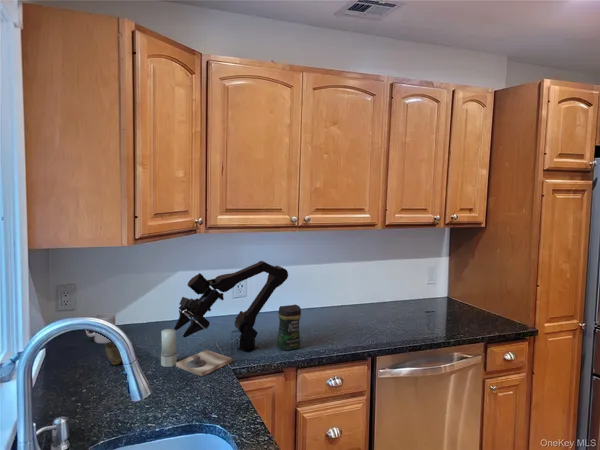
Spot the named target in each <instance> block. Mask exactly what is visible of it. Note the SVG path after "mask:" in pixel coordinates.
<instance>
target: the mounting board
mask: <svg viewBox="0 0 600 450" xmlns="http://www.w3.org/2000/svg"><path fill="white" fill-rule="evenodd" d="M232 362H233V358H232V357H230V356H226V355H224V354H220V353H218V352H214V351H211V350H208V349H205V350H203V351H200V352H199V353H198V352H197V353H196V354H193V355H191V356H188V357H186V358H184V359H182V360H179V361H177V362H176V365H175V367H176V368H179V369H182V370H184V371H187V372H190V373H192V374H194V375H197V376H200V377H204V376H205V375H208V374H210V373H212V372H214V371H216V370H218V369H221V368H222V367H224V366H226V365H228V364H231V363H232Z"/></svg>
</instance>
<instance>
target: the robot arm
mask: <svg viewBox="0 0 600 450" xmlns="http://www.w3.org/2000/svg"><path fill="white" fill-rule="evenodd" d="M262 273H266V274H268V275H267V280H266V282H265V283H264V285H263V287H261V289H260V291H259V292H258V294H257V295H256V296H255V298H254V300H253V301H252V302H251V304H250V305H249V306H248V308H247V310H244V311H243V310H240V311H239V313H238V314H237V316H236V317H234V319H235V321H234V327H235V328H236V329H237V331H239V333H240V335H239V346H237V347H236V349H237V350H239V351H243V352H245V353H250V352H252V351H254V350H256V349H258V348H259V347H258V345H256V337H257V335H258V331H257V330H256V329H255V328H254V326H255V324H256V319H257V316H258V315H259V314H260V312H261V310H262V309H263V308H264V306H265V305H266V303H267V301H269V299H270V298H271V295H273V293H274V292H275V290H276V289H277V288H278V287H281V286H282V285H283V284H284V282H285V281H287V279H288V278H289V271H288V270H287V269H286V268H284V267H281V266H279V265H271V264H269V263H268V262H266V261H264V260H259V261H258V262H256V263H254V264H251V265H249V266H247V267H245V268H242V269H239V270H238V271H237V270H236V271H235V272H232V273H224V274H221V275H217V276H216V277H215V278H211V279H206V277H204V275H203V274H202V273H200V272H199V273H198V274H196V275H194V276H193V277H192V278H190V280H189V281H188V282H187V286H188V288H190V289H191V290H192V291H193V292H194V293H195V294H197V295H198V296H199V295H200V297H199V298H195V299H194V298H188V297H185V296H182V297H181V300H180V301H179V305H180V306H179V307H178V309H179V310H178V313H179V317H178V319H177V322H176V323H175V325H174V328H173V329H175V330H176V331H178V330H179V329H181V328H182V327H184V326H186V324H188V323H189V322H190V325H188V327H187V329H186V330H185V331H184V332H183V335H182V337H183V338H187V337H189V336H191V335H194V334H195V333H197V332H199V331H202V330H204V329H205V330H207V329H208V328H209V327H210V326H211V325H210V321H209V320H208V319H207V318H205V314H206V313H207V312H211V311H212V309H211V308H212V306H213V305H214V304H215V303H216V302H217V300H221V301H224V293H226V292H227V293H228V291H230V290H232V289H233V288H235V286H237V285H238V284H239V283H241V282H243V281H245V280H247V279H249V278H252V277H255V276H257V275H259V274H262ZM219 291H220V292H219Z"/></svg>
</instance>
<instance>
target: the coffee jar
mask: <svg viewBox="0 0 600 450" xmlns="http://www.w3.org/2000/svg"><path fill="white" fill-rule="evenodd" d="M301 311H302V310H301V307H300V305H297V304H290V305H289V304H288V305H281V306H279V308H278V311H277V314H278V318H279V327H278V332H277V333H278V334H277V340H276V341H277V342H276V346H277V347H278V349H279V350H282V351H292V350H297V349H299V348H300V346H301V336H300V321H301V316H302V312H301Z"/></svg>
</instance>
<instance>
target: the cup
mask: <svg viewBox="0 0 600 450" xmlns="http://www.w3.org/2000/svg"><path fill="white" fill-rule="evenodd" d="M104 346H105V347H104V348H105V353H106V357H107V359H108V360H109V361H110V364H111V365H112V366H118V365H120V364H121V363H122V359H121V357H120V355H119V352H118V350H117V348H116V347H115V345H114V344H113V343H112V342H108V343H105V344H104Z"/></svg>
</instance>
